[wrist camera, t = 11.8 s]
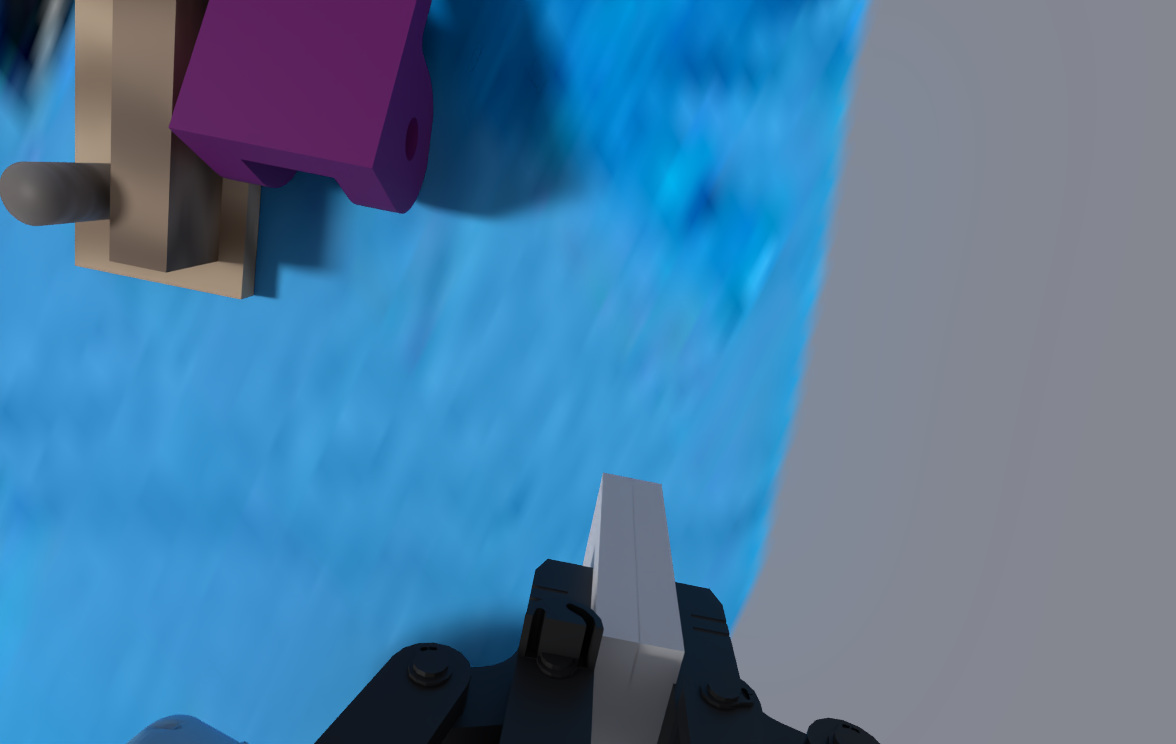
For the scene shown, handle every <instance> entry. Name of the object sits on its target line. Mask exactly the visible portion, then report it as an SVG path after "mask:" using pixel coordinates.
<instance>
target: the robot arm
mask: <svg viewBox="0 0 1176 744" xmlns="http://www.w3.org/2000/svg"><path fill="white" fill-rule="evenodd" d="M127 744H248V743H247V742H245V741H244V742H238V741H236V740H234V739H233V738H231V737H229V736H227V735H225V734H224V733H222V732H220V731H218V730H217V729H215V728H213V727H211V726H210V725H208V724H206V723H204V722H203V721H201V720H199V719H197V718H195V717H193V716H189V715H173V716H168V717H165V718H162V719H160V720H157V721H156V722H154V723H152V724H150V725H149V726H147V727H146V728H145V729H143V730H142V731H141V732H140V733H138V734H137V735H136V736H135V737H134V738H132V739H131V740H130V741H129V742H128V743H127ZM314 744H880V743H879V742H878V741H877V740H876V739H875V738H874V737H873V736H871V735H870V734H868V733H867V732H865V731H864V730H863V729H861V728H860V727H858V726H855V725H853V724H851V723H848V722H846V721H844V720H838V719H833V718H824V719H819V720H816V721H815V722H814V723H813V724H811V725H810V726H809V728H808V731H807V734H805V733H803V732H800V731H798V730H795V729H793V728H791V727H789V726H787V725H784V724H782V723H780V722H778V721H776V720H774V719H772V718H770V717H769V716H767V715H766V714H765V713H763V712H762V708H761V704H760V701H759V699H758V697H757V695H756V694H755V692H754V690H753V689H751V688H750V687H749V685H748V684H746V683H745V682H744V681H743V680H741V679H740V676H739V672H738V668H737V663H736V659H735V656H734V651H733V647H732V643H731V639H730V637H729V630H728V626H727V624H726V618H725V614H724V610H723V605H722V604H721V603H720V601H719V600H718V599H717V598H716V596H715V595H714V594H713V593H712V591H711V590H710V589H707V588H702V587H697V586H692V585H687V584H682V583H677V582H675V579H674V572H673V564H672V557H671V550H670V543H669V536H668V528H667V521H666V514H665V507H664V500H663V492H662V485H661V484H657V483H652V482H647V481H642V480H637V479H632V478H627V477H622V476H617V475H612V474H607V473H603V475H602V480H601V485H600V489H599V494H598V498H597V503H596V507H595V512H594V517H593V521H592V526H591V530H590V535H589V539H588V544H587V549H586V553H585V558H584V562H583V566H581V565H576V564H571V563H566V562H561V561H556V560H551V559H547V560H546V561H545V562H544V563H543V564H542V565H540V566H539V567H538V568H537V569H536V570H535V575H534V580H533V585H532V589H531V594H530V599H529V604H528V608H527V612H526V614H525V620H524V625H523V630H522V635H521V640H520V645H519V648H518V650H517V651H516V652H515V654H514V655H513V656H512V657H511V658H509V659H507V660H506V661H504V662H502V663H499V664H496V665H493V666H486V667H474V668H470V664H469V662H468V660H467V659H466V658H465V657H464V656H463V655H462V653H460V652H459V651H457V650H455V649H453V648H451V647H449V646H446V645H442V644H437V643H418V644H414V645H411V646H408V647H405V648H403V649H402V650H400V651H399V652H398V653H396V654H395V655H394V656H392V658H391V659H390V660H389V661H388V662H387V663H386V664H385V665H384V666H383V668H382V669H381V670H380V671H379V672H378V673H377V674H376V675H375V676H374V678H373V679H372V680H371V681H370V682H369V683H368V684H367V685H366V686H365V688H364V689H363V690H362V691H361V692H360V693H359V694H358V695H357V697H356V698H355V699H354V700H353V701H352V702H351V703H350V704H349V705H348V707H347V708H346V709H345V710H344V711H343V712H342V713H341V714H340V715H339V717H338V718H337V719H336V720H335V721H334V722H333V723H332V724H331V725H330V727H329V728H328V729H327V730H326V731H325V732H324V733H323V734H322V735H321V737H320V738H319V739H318V740H317V741H316V742H315V743H314Z"/></svg>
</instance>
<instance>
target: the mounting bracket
mask: <svg viewBox="0 0 1176 744" xmlns="http://www.w3.org/2000/svg"><path fill="white" fill-rule="evenodd" d="M431 1H432V0H209V3H208V6H207V9H206V12H205V15H204V18H203V21H202V24H201V28H200V31H199V34H198V37H197V40H196V43H195V46H194V49H193V52H192V56H191V59H190V62H189V65H188V68H187V71H186V74H185V77H184V80H183V83H182V87H181V90H180V93H179V96H178V99H177V102H176V105H175V108H174V111H173V115H172V118H171V121H170V124H169V127H168V128H169V129H170V130H171V131H172V132H173V133H175V134H176V135H177V136H178V137H179V138H180V139H181V140H182V141H183V142H184V143H185V144H186V145H187V146H188V147H189V148H190V149H192V150H193V151H194V152H195V153H196V154H197V155H198V156H199V157H200V158H201V159H202V160H203V161H204V162H205V163H206V164H207V165H208V166H210V167H211V168H212V169H213V170H214V171H215V172H216V173H217V174H218V175H220V176H222V177H223V178H226V179H231V180H236V181H241V182H246V183H251V184H256V185H261V186H266V187H271V188H279V187H282V186H284V185H286V184H287V183H288V182H289V181H290V180H291V179H292V178H293V177H294V175H295V174H296V172H297V171H302V172H307V173H312V174H317V175H322V176H327V177H332V178H335V180H336V181H337V182H338V184H339V185H340V187H341V188H342V190H343V191H344V192H345V194H346V195H347V197H348V198H349V199H350V201H351V202H353V203H354V204H356V205H361V206H366V207H371V208H376V209H381V210H386V211H391V212H396V213H402V214H403V213H406V212H407V211H408V210H409V209H410V208H411V207H412V205H413V204H414V202H415V200H416V198H417V196H418V194H419V191H420V189H421V186H422V183H423V179H424V176H425V172H426V168H427V162H428V154H429V146H430V138H431V130H432V122H433V94H432V85H431V79H430V75H429V71H428V68H427V65H426V62H425V58H424V55H423V51H422V38H423V32H424V28H425V24H426V20H427V16H428V13H429V9H430V5H431Z"/></svg>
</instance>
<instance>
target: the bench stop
mask: <svg viewBox="0 0 1176 744" xmlns="http://www.w3.org/2000/svg"><path fill="white" fill-rule="evenodd" d="M208 3H209V0H75V163H67V162H17V163H14V164H12V165H10V166H9V167H8V168H7V169H6V170H5V171H4V172H3V174H2V176H1V179H0V196H1V199H2V201H3V204H4V205H5V207H6V209H7V210H8V211H9V212H10V214H11V215H12V216H14V217H15V218H16V219H17V220H19V221H21V222H23V223H25V224H28V225H32V226H43V225H53V224H64V223H75V266H80V267H85V268H90V269H95V270H99V271H104V272H109V273H114V274H119V275H124V276H129V277H134V278H139V279H144V280H149V281H153V282H158V283H163V284H168V285H173V286H178V287H183V288H188V289H193V290H198V291H202V292H207V293H212V294H217V295H222V296H227V297H232V298H237V299H244V298H247V297H250V296H253V295H254V281H255V267H256V253H257V239H258V224H259V210H260V196H261V185H256V184H251V183H246V182H241V181H236V180H231V179H226V178H223V177H222V176H220V175H218V174H217V173H216V172H215V171H214V170H213V169H212V168H211V167H210V166H208V165H207V164H206V163H205V162H204V161H203V160H202V159H201V158H200V157H199V156H198V155H197V154H196V153H195V152H194V151H193V150H192V149H190V148H189V147H188V146H187V145H186V144H185V143H184V142H183V141H182V140H181V139H180V138H179V137H178V136H177V135H176V134H175V133H173V132H172V131H171V130H170V129H169V128H168V127H169V124H170V121H171V118H172V115H173V111H174V108H175V105H176V102H177V99H178V96H179V93H180V90H181V87H182V83H183V80H184V77H185V74H186V71H187V68H188V65H189V62H190V59H191V56H192V52H193V49H194V46H195V43H196V40H197V37H198V34H199V31H200V28H201V24H202V21H203V18H204V15H205V12H206V9H207V6H208Z"/></svg>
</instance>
